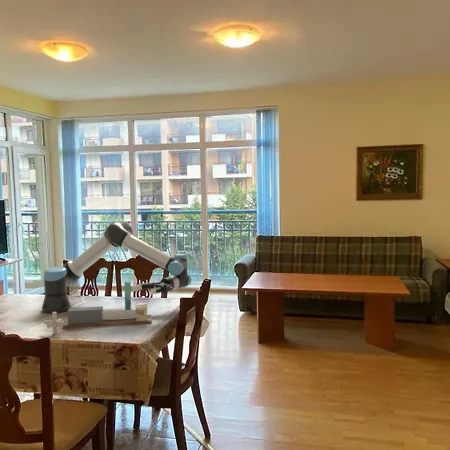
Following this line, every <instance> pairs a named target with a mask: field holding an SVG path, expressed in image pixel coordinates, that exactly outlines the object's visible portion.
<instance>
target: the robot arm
mask: <svg viewBox="0 0 450 450" xmlns="http://www.w3.org/2000/svg"><path fill="white" fill-rule="evenodd" d="M113 248H114V249H115V248H121V249H124V248H125V249H126V250H129V251H131V252H133V253H134V254H137V255H138V256H140V257H141V258H144V259H146V260H147V261H149V262H151V263H153V264H155V265H157V266H159V267H160V268H162V269H164V270H166V271H168V273H169V274H170V275H171V276H167V277H163V278H162V279H161V280H160V281H157V282H155V281H153V282H152V281H151V282H141V283H138V284H137V285H133V286H131V293H133V292H138V291H142V290H146V289H147V290H148V289H149V290H150V293H149V294H150V295H151V296H153V295H157V294H160V293H165V294H166V293H168V292H171V291H172V292H173V291H175V290H177V289H181V288H182V289H183V288H187V287H188V286H190V285H191V283H192V277H191V275H190V274H189V273H188V256H187V254H186V253H175V254H174V255H173V257H172V256H171V255H169V254H166V253H165V252H163V251H161V250H159V249H158V248H156V247H154V246H152V245H150V244H148V243H147V242H145V241H143V240H141V239H140V238H138V237H136V236H134V235H133V227H132V225H131V224H130V223H129V222H127V221H123V220H120V221H115V222H111V223H110V224H109V225H107V227H106V228H105V231H104V232H103V236H102V237H100V238H99V239H98V240H97V241H96V242H95V243H93V244H92V245H91V246H90V247H88V248H87V249H86V250H84V251H83V252H82V253H81V254H80V255H79V256H77V257H76V258H75V259H74V260H69V261H67V262H66V263H65V264H63V265H61V266H52V267H48V268H46V269H45V270H44V273H43V274H44V275H43V282H44V283H43V284H44V299H43V302H42V306H41V312H42V313H45V314H52V312H57V313H58V314H59V313H64V312H68V310H69V309H70V308H72V307H71V306H72V305H71V302H70V299H69V296H68V287H70V286H72V285H74V284H76V283H77V282H78V280H79V279H81V278H82V277H83V275H84V272H85V271H86V270H87V269H88V268H90V267H91V266H92V265H94V264H95V263H96V262H98V261H99V260H100V259H101V258H102V257H104V256H105V255H106V254H107V253H108V252H109V251H111V250H112V249H113Z"/></svg>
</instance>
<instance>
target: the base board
mask: <svg viewBox="0 0 450 450" xmlns="http://www.w3.org/2000/svg"><path fill="white" fill-rule="evenodd" d="M65 322H66V324H65V325H62V329H76V328H79V327H80V328H93V327H94V328H95V327H113V326H115V327H116V326H130V325H131V326H132V325H133V326H134V325H135V326H136V325H151V324H152V314H147V321H136V318H117V319H103V321H102V322H99V323H80V324H68V318H67V319H66V320H65ZM80 328H79V329H80Z"/></svg>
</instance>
